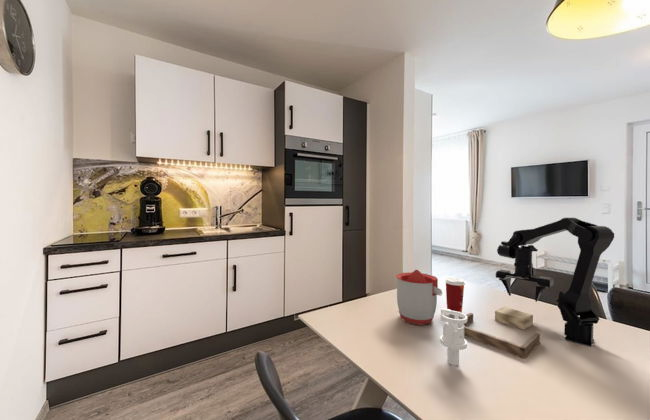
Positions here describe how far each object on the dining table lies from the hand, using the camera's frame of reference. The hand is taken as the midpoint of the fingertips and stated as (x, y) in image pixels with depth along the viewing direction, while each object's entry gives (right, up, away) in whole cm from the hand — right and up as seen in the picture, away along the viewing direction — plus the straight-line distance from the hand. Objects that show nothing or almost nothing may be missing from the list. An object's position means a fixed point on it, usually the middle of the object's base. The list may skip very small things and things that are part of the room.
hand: (522, 298), depth 113 cm
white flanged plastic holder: (-45, -8, -34) cm, 56 cm away
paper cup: (-27, -7, +3) cm, 28 cm away
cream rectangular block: (-8, -8, -6) cm, 12 cm away
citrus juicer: (-45, -7, -4) cm, 46 cm away
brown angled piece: (-23, -7, -18) cm, 30 cm away
